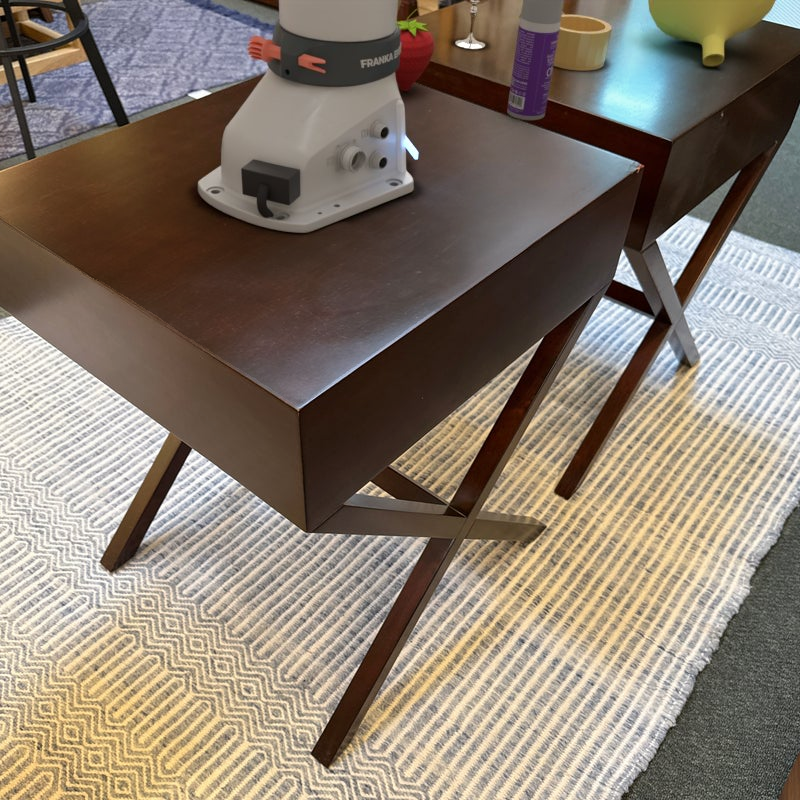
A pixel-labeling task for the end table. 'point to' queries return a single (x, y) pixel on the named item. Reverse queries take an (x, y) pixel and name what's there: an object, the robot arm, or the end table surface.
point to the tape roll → (582, 43)
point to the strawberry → (413, 52)
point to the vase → (708, 21)
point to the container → (534, 58)
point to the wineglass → (470, 41)
